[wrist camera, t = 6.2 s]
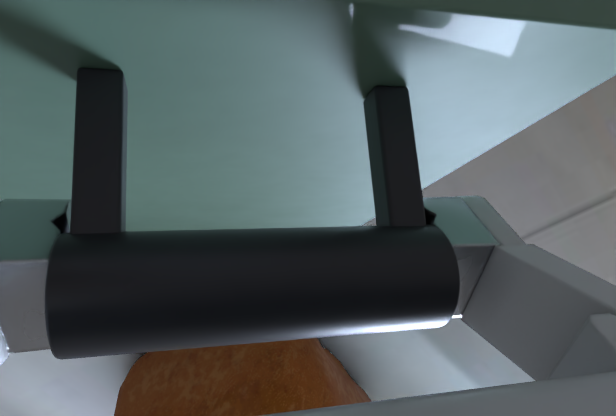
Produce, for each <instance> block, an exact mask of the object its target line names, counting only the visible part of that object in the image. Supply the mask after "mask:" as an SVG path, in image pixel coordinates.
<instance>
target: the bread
mask: <svg viewBox="0 0 616 416" xmlns="http://www.w3.org/2000/svg"><path fill="white" fill-rule="evenodd" d="M364 402H372V401H371V400H370V398H369V397H368V396H367V394H366V393H365V391H364V390H363V389H362V388H361V387H359V386H358V385H357V384H356V383H355V382H354V380H353V379H352V378H351V377H350V376H349V374H348V373H347V372H346V370H345V369H344V367H343V365H342V364H341V362H340V361H339V360H338V359H337V358H336V357H335V356H333V355H332V354H331V353H330V352H329V351H328V350H327V349H325V348H323V347H322V346H321V344H320V342H319V340H318V339H317V338H310V339H298V340H286V341H274V342H262V343H251V344H239V345H227V346H215V347H203V348H191V349H180V350H168V351H156V352H147V353H146V354H145V355H143V356H142V357H140V358H139V359H138V360H137V361H136V362H135V364H134V365H133V366H132V368H131V369H130V371H129V373H128V375H127V376H126V378H125V380H124V382H123V384H122V385H121V387H120V390H119V394H118V399H117V404H116V409H115V414H114V416H259V415H267V414H275V413H284V412H292V411H300V410H308V409H316V408H324V407H332V406H340V405H348V404H356V403H364Z"/></svg>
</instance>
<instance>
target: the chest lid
mask: <svg viewBox="0 0 616 416" xmlns="http://www.w3.org/2000/svg"><path fill="white" fill-rule="evenodd" d="M614 75H616V0H0V199H3V200H4V199H70V200H71V220H70V233H62V234H60V235H59V236H58V237H57V238H56V240H55V242H54V244H53V247H52V249H51V253H50V256H49V261H48V266H47V273H46V282H45V324H46V332H47V338H48V342H49V345H50V348H51V351H52V353H53V355H54V356H55V357H56V358H58V359H73V358H85V357H97V356H109V355H120V354H132V353H144V352H156V351H168V350H180V349H191V348H203V347H215V346H227V345H239V344H251V343H262V342H274V341H286V340H298V339H310V338H322V337H333V336H345V335H357V334H369V333H381V332H393V331H405V330H416V329H428V328H438V327H442V326H444V325H445V324H447V323H448V322H449V321H450V320H451V318H452V317H453V315H454V313H455V310H456V308H457V304H458V300H459V293H460V275H459V267H458V262H457V258H456V254H455V252H454V249H453V246H452V244H451V242H450V240H449V239H448V237H447V236H446V234H445V233H444V232H443V231H442V230H441V229H439V228H437V227H435V226H433V225H426V218H425V210H424V203H423V195H422V189H423V188H425V187H427V186H429V185H430V184H432V183H434V182H435V181H437V180H439V179H440V178H442V177H444V176H445V175H447V174H449V173H451V172H452V171H454V170H456V169H457V168H459V167H461V166H462V165H464V164H466V163H467V162H469V161H471V160H472V159H474V158H476V157H478V156H479V155H481V154H483V153H484V152H486V151H488V150H489V149H491V148H493V147H494V146H496V145H498V144H500V143H501V142H503V141H505V140H506V139H508V138H510V137H511V136H513V135H515V134H516V133H518V132H520V131H522V130H523V129H525V128H527V127H528V126H530V125H532V124H533V123H535V122H537V121H538V120H540V119H542V118H543V117H545V116H547V115H549V114H550V113H552V112H554V111H555V110H557V109H559V108H560V107H562V106H564V105H565V104H567V103H569V102H571V101H572V100H574V99H576V98H577V97H579V96H581V95H582V94H584V93H586V92H587V91H589V90H591V89H592V88H594V87H596V86H598V85H599V84H601V83H603V82H604V81H606V80H608V79H609V78H611V77H613V76H614ZM374 217H376V225H377V226H361V225H363V224H364V223H366V222H368V221H369V220H371V219H373V218H374Z"/></svg>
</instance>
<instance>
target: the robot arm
mask: <svg viewBox="0 0 616 416" xmlns="http://www.w3.org/2000/svg"><path fill="white" fill-rule="evenodd" d="M423 203H424V210H425V218H426V225H433V226H435V227H437V228H439V229H441V230H442V231H443V232H444V233H445V234H446V236H447V237H448V239H449V240H450V242H451V244H452V246H453V249H454V252H455V254H456V258H457V262H458V267H459V275H460V293H459V300H458V304H457V308H456V310H455V313H454V315H453V317H452V318H459V317H462V318H461V320H462V321H463V322H465V323H466V324H467V325H468V326H469V327H471V328H472V329H473V330H474V331H476V332H477V333H478V334H479V335H480V336H482V337H483V338H484V339H485V340H487V341H488V342H489V343H490V344H491V345H493V346H494V347H495V348H496V349H498V350H499V351H500V352H501V353H502V354H504V355H505V356H506V357H507V358H509V359H510V360H511V361H512V362H513V363H515V364H516V365H517V366H518V367H520V368H521V369H522V370H523V371H524V372H526V373H527V374H528V375H529V376H531V377H532V378H533V379H534V380H535V381H533V382H525V383H517V384H509V385H501V386H493V387H485V388H477V389H469V390H461V391H453V392H445V393H437V394H429V395H421V396H413V397H405V398H397V399H389V400H381V401H372V402H364V403H356V404H348V405H340V406H332V407H324V408H316V409H308V410H300V411H292V412H284V413H275V414H267V415H259V416H616V286H615V285H613V284H611V283H609V282H607V281H605V280H603V279H601V278H599V277H597V276H595V275H593V274H591V273H589V272H587V271H585V270H583V269H581V268H579V267H577V266H575V265H573V264H571V263H569V262H567V261H565V260H563V259H561V258H559V257H557V256H555V255H553V254H551V253H549V252H547V251H545V250H543V249H541V248H539V247H537V246H535V245H533V244H525V243H524V241H523V240H522V239H521V238H520V237H519V236H518V235H517V234H516V233H515V231H514V230H513V229H512V228H511V227H510V226H509V225H508V224H507V223H506V221H505V220H504V219H503V218H502V217H501V216H500V215H499V214H498V213H497V211H496V210H495V209H494V208H493V207H492V206H491V205H490V204H489V203H488V202H487V200H486V199H485V198H482V197H480V196H456V197H432V198H423ZM70 220H71V200H70V199H4V200H3V199H0V365H1V364H2V363H3V362H4V361H5V360H6V359H7V358H8V357H9V355H8V353H17V352H27V351H37V350H46V349H51V348H50V345H49V342H48V338H47V332H46V324H45V282H46V273H47V266H48V261H49V256H50V253H51V249H52V247H53V244H54V242H55V240H56V238H57V237H58V236H59V235H60V234H62V233H70Z"/></svg>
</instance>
